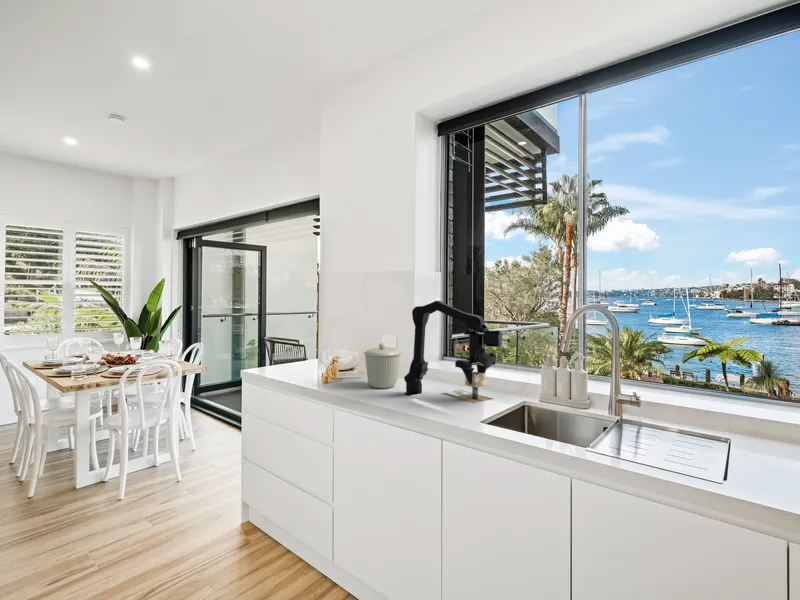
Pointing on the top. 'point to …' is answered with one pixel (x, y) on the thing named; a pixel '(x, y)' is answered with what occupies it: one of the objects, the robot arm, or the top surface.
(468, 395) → the board
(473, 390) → the post
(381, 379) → the canister
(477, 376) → the collar
